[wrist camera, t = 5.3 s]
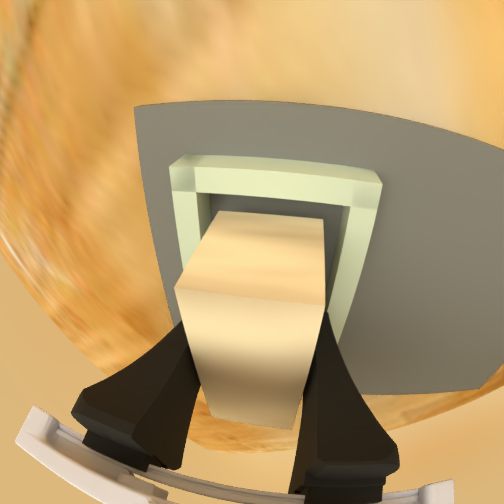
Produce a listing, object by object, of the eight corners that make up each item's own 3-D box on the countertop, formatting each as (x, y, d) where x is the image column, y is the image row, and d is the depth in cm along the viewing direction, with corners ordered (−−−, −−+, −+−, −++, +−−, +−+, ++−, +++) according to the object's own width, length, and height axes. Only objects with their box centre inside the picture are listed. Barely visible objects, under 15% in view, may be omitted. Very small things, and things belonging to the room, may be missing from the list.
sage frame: (374, 170, 10) (382, 184, 9) (323, 362, 18) (322, 381, 16) (184, 154, 11) (169, 166, 10) (208, 346, 19) (202, 364, 17)
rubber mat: (591, 195, 7) (595, 199, 7) (478, 384, 18) (479, 388, 18) (139, 105, 11) (133, 107, 10) (189, 367, 22) (187, 372, 21)
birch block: (300, 358, 16) (291, 429, 12) (231, 350, 17) (212, 417, 13) (323, 219, 11) (325, 305, 7) (218, 210, 11) (173, 287, 8)
